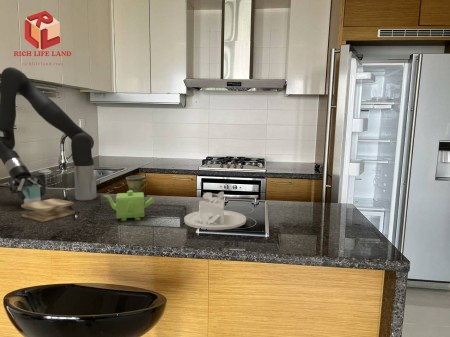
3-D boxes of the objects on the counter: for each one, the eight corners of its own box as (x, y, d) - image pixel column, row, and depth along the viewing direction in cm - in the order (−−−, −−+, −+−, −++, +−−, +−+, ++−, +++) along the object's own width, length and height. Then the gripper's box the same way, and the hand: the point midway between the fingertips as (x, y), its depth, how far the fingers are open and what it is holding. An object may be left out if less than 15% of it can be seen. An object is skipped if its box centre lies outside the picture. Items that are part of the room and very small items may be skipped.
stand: (54, 209, 146) (53, 198, 145) (74, 213, 139) (73, 202, 139) (22, 216, 134) (21, 204, 133) (42, 221, 127) (41, 209, 127)
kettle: (103, 219, 131) (102, 192, 129) (129, 211, 143) (128, 186, 142) (132, 225, 124) (131, 196, 123) (156, 216, 136) (155, 190, 135)
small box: (46, 192, 183) (45, 173, 182) (39, 194, 177) (37, 175, 176) (29, 191, 184) (27, 173, 183) (20, 193, 178) (19, 174, 177)
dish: (177, 215, 139) (177, 189, 137) (232, 210, 148) (232, 186, 146) (193, 233, 116) (193, 202, 114) (256, 226, 125) (257, 197, 123)
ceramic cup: (122, 196, 174) (121, 177, 173) (135, 192, 183) (135, 175, 182) (141, 198, 168) (140, 179, 167) (153, 195, 177) (153, 177, 176)
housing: (35, 206, 152) (33, 184, 150) (41, 207, 149) (39, 185, 148) (24, 208, 147) (22, 186, 146) (30, 209, 145) (29, 187, 144)
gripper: (3, 166, 143) (20, 194, 139) (35, 163, 156) (52, 189, 151) (-2, 177, 146) (14, 205, 142) (30, 173, 159) (45, 199, 155)
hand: (33, 197), depth 147 cm, fingers open, 8 cm apart
